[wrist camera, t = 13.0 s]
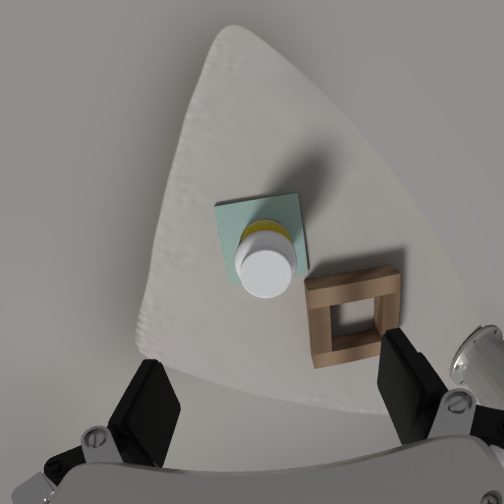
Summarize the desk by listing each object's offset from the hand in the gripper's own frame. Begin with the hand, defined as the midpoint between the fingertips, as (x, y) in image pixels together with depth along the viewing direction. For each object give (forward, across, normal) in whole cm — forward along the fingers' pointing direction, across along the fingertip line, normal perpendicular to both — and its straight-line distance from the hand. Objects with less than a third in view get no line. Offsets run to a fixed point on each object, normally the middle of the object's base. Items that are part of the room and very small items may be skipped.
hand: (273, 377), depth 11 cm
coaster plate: (+22, +1, 0) cm, 22 cm away
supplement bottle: (+21, 0, 0) cm, 21 cm away
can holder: (+22, -9, +10) cm, 26 cm away
